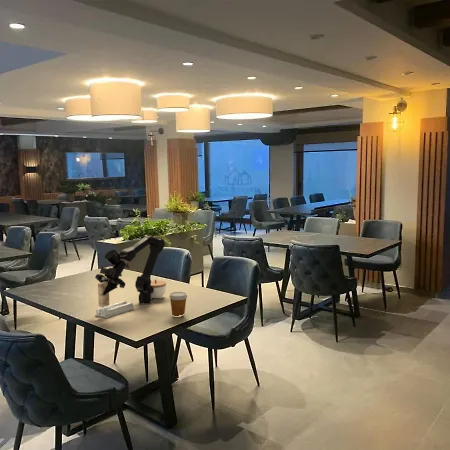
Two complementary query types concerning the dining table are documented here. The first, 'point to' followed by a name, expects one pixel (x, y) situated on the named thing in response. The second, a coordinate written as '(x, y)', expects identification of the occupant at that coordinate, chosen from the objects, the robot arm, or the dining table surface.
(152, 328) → the dining table surface
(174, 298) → the disposable coffee cup
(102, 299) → the beige tall block
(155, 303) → the dining table surface
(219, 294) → the dining table surface
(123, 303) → the door track
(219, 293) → the dining table surface
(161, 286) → the lidded bowl
